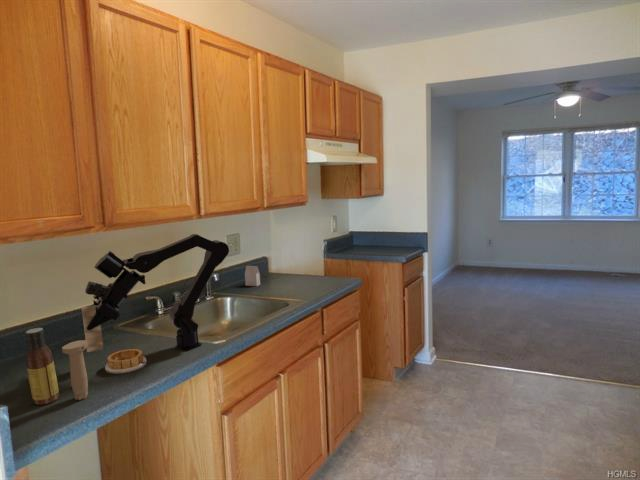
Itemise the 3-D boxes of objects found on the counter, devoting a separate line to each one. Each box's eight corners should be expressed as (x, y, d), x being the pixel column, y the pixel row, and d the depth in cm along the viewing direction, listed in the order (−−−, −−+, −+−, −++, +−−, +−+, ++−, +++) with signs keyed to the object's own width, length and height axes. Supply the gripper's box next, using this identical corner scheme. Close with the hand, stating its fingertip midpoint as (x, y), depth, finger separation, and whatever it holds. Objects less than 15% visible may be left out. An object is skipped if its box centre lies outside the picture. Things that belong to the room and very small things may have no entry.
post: (102, 344, 151) (97, 305, 149) (103, 349, 147) (98, 308, 145) (86, 347, 149) (81, 307, 147) (87, 352, 145) (82, 311, 143)
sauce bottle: (53, 392, 132) (44, 324, 129) (63, 398, 128) (54, 328, 125) (27, 402, 127) (17, 330, 124) (37, 409, 123) (26, 335, 120)
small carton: (256, 286, 245) (255, 267, 244) (245, 285, 248) (244, 266, 246) (260, 284, 248) (259, 265, 247) (249, 283, 251) (247, 265, 250)
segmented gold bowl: (132, 355, 157) (131, 345, 156) (154, 362, 150) (153, 352, 149) (97, 368, 147) (96, 358, 146) (119, 377, 140) (118, 365, 139)
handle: (64, 402, 125) (57, 348, 123) (83, 391, 132) (76, 339, 129) (79, 404, 124) (72, 349, 122) (97, 393, 130) (91, 340, 128)
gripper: (97, 267, 154) (63, 305, 151) (103, 277, 138) (64, 320, 135) (125, 286, 159) (93, 324, 156) (134, 298, 143) (98, 341, 140)
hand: (87, 327), depth 146 cm, fingers closed on post, 4 cm apart
